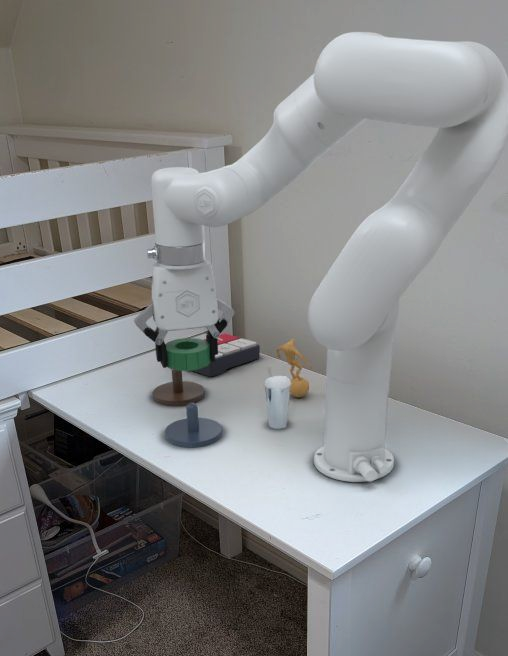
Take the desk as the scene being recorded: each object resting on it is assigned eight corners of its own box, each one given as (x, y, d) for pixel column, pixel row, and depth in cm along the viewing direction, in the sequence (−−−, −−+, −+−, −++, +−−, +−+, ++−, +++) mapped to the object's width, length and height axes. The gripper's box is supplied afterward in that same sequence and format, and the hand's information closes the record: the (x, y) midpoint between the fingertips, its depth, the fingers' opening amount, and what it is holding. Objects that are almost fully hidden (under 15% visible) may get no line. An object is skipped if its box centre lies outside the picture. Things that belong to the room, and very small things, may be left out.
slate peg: (228, 442, 127) (227, 410, 124) (171, 451, 125) (168, 419, 122) (214, 419, 136) (212, 388, 133) (160, 427, 134) (157, 396, 131)
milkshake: (280, 416, 136) (280, 364, 131) (295, 427, 132) (295, 374, 127) (258, 421, 134) (257, 369, 129) (272, 433, 130) (272, 379, 125)
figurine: (321, 399, 142) (323, 338, 136) (300, 408, 138) (300, 347, 133) (290, 387, 147) (290, 329, 141) (268, 396, 144) (267, 337, 138)
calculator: (260, 341, 161) (210, 357, 151) (260, 360, 163) (210, 377, 153) (225, 331, 167) (174, 345, 158) (225, 349, 169) (175, 365, 160)
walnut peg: (209, 401, 143) (207, 372, 140) (158, 408, 141) (155, 379, 138) (197, 382, 151) (195, 354, 148) (149, 389, 149) (146, 361, 146)
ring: (214, 367, 122) (213, 350, 120) (170, 373, 120) (168, 355, 119) (204, 352, 128) (203, 335, 126) (161, 357, 126) (160, 340, 125)
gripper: (128, 265, 110) (139, 376, 119) (241, 254, 114) (244, 363, 123) (121, 253, 116) (132, 360, 125) (229, 244, 120) (232, 348, 129)
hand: (187, 361), depth 124 cm, fingers closed on ring, 7 cm apart
